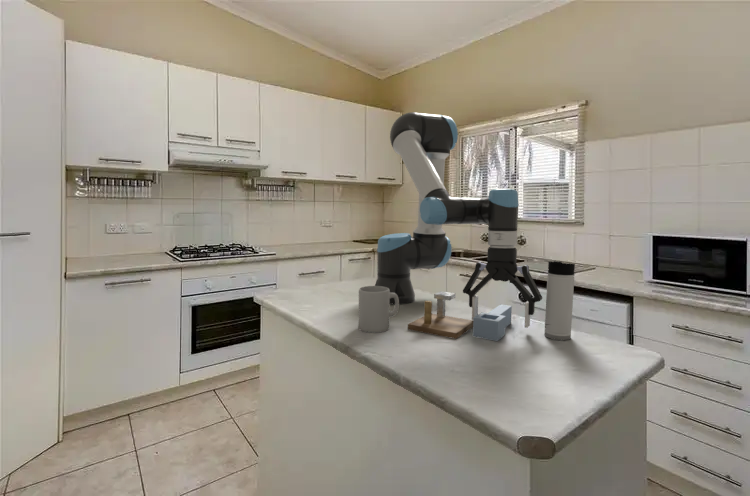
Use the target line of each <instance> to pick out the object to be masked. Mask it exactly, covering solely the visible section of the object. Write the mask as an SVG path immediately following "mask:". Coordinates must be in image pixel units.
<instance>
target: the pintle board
mask: <svg viewBox="0 0 750 496" xmlns="http://www.w3.org/2000/svg"><path fill="white" fill-rule="evenodd" d="M432 305H433V302H432V300H424V305H423V306H424V310H423V311H424V312H423V314H424V315H423V316H421V317H420V318H417V319H415V320H414V321H411V322H409V323H408V324H407V330H410V331H414V332H419V333H424V334H430V335H435V336H440V337H446V338H449V339H455V340H456V339H458V338H460V337H461V336H463V335H465V334H466V333H467V332H468V331H470V330H471V329H473V320H472V319H467V318H460V317H455V316H454V317H453V316H448V315H445V317H444V318H438V317H437V313H433V309H432V308H433V306H432Z"/></svg>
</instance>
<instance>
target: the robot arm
mask: <svg viewBox="0 0 750 496" xmlns="http://www.w3.org/2000/svg"><path fill="white" fill-rule="evenodd" d="M458 135H459V134H458V126H457V124H456V122H455V121H454V119H453V118H452V117H450V116H447V115H442V114H435V113H422V112H413V111H412V112H407V113H404V114H402V115H400V116H399V117H398V118H397V119H395V121H394V122H393V124H392V127H391V129H390V133H389V140H390V144H391V147H392V149H393V151H394V152H395V153H396V154H397V155H398V156H400V158H401V161H403V164H404V166H405V168H406V171H407V172H408V174H409V176H410V178H411V180H412V182H413V184H414V186H415V188H416V190H417V192H418V211H417V212H418V214H417V227H416V228H415V229H413V232H412V234H413V235H412V236H411V233H409V232H401V233H391V234H386V235H382V236H381V237H379V238H378V239H377V249H376V252H377V258H376V259H377V261H376V262H377V268H376V269H377V270H376V271H377V273H376V274H377V277H376V282H375V285H374V286H382V287H387V288H389V290H390V292H392V293H396V294H397V296H398V299H399V305H406V304H411V303H413V302H415V300H416V297H415V296H416V294H415V291H414V286H413V284H412V281H411V280H412V279H411V270H424V269H431V270H432V269H433V270H435V269H437V268H442V267H444V266H445V265H446V264H447V263H448V262H449V260H450V259H451V256H452V248H453V247H452V243H451V240H450V238H449V237H448V236H446V234H447V233H446V231H445V230H444V229H443V227H442V225H488V228H487V229H488V232H487V245H488V246H489V247H488V248H487V258H486V259H487V263H483V261H479V262H476V264H475V267H474V271H473V273H472V274H471V275H470V277H469V279H468V281H467V283H466V284H465V286H464V287H463V289H462V293H463V294H466V295H468V296H469V297H468V306H469V308H471V320H473V318H474V317H475V316H477V315H478V314H479V295H477V293H479V292H480V290H482V289H483V288H484V287H485V285H487V284H488V283H489V282H490V281H491V280H493V281H496V282H499V281H501V282H503V283H504V282H510V283H511V284H512V285H513V286H514V287H515V288H516V289H517V291H518V292H519V293H520V294H521V296H522V297H524V298H525V300H526V302H525V304H524V328H526V329H527V328H529V327H530V326H531V316H534V315H535V314H534V313H535V307H536V305H535V304H536V303H537V302H540V301H542V299H543V295H542V293H541V292H540V291H539V287H538V286H537V284H536V283H535V280H534V278H533V277H532V275H531V273H530V267H529V265H528V264H524V265H519V266H518V265H517V257H518V256H517V255H518V254H517V248H516V246H517V245H518V223H519V222H518V219H519V218H518V217H519V205H520V204H519V193H518V190H517V189H513V188H494V189H491V190H489V193H488V197H451V194H450V193H449V192H448V190H447V188H446V187H445V167H446V166H445V165H446V159H447V158H448V157H449V156H451V153H450V152H451V151H452V150H454V148H455V147H456V143H457V142H458V137H459V136H458ZM485 269H486V271H487V273H488V274H486V275H485V276H484V278H483V279H482V280H481V281H480V282H478V284H476V285H475V286H474V284H475V283H476V281H477V279H478V277H479V276H480V274H481V273H482V271H484V270H485ZM517 272H519V274H521V275H522V277H523V278H524V280H525V282H526V284H527V286H528V288H529V289H530V291H529V290H528V289H527V288H526V286H525V285H524V284H523V283H522V281H520V278H518V276H517V275H516V273H517ZM473 286H474V287H473ZM389 305H395V299H394V298H390V304H389Z"/></svg>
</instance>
